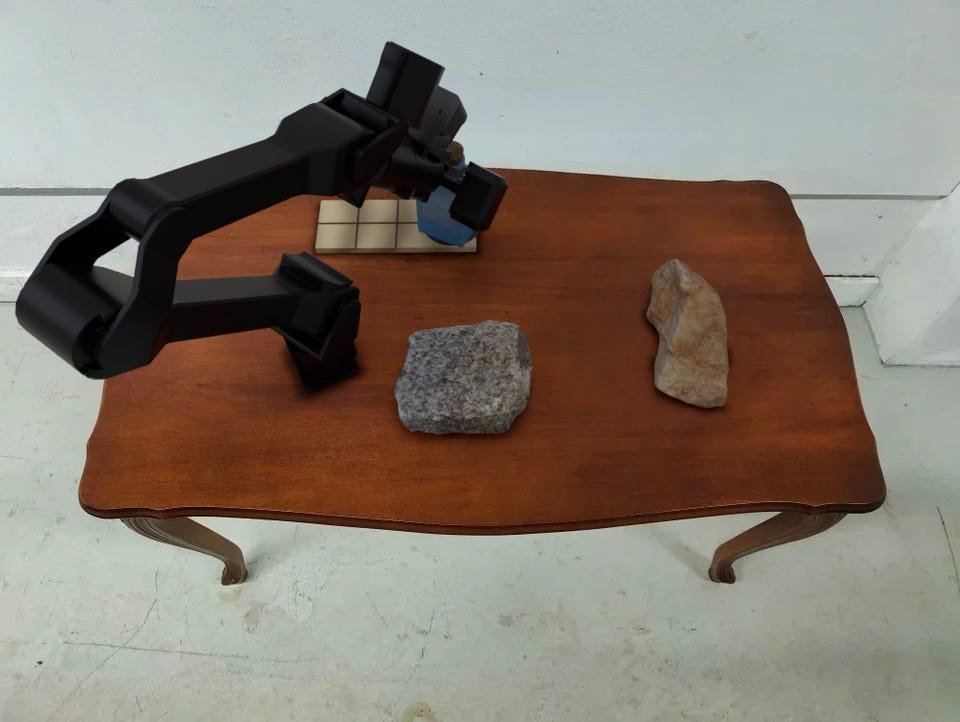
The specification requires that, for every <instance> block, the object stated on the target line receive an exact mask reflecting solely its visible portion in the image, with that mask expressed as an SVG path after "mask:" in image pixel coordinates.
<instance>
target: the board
mask: <svg viewBox="0 0 960 722" xmlns="http://www.w3.org/2000/svg"><path fill="white" fill-rule="evenodd" d="M479 233H480V232H476V231H473V233H472V234H471V236H470V237H469V239H468V240H467V242H466V243H465V245H464V246H463V248H460V247H458V246H455V245H453V244H450V243H448V242H445V241H443V240H440V239H438V238H435V237H433V236H430V235H427V234H425V233H422V232H420V231H418V220H417V208H416V199H409V200H404V199H399V198H398V199H397V198H396V199H365V201H364V204H363V206H362V207H361V208H360V209H358V208H356V207H354V206H353V205H351V204H349V203H348V202H346V201H344V200H342V199H334V200H333V199H331V200H330V199H329V200H327V199H326V200H325V199H323V200H322V199H321V201H320V208H319V216H318V222H317V232H316V238H315V239H316V240H315V247H314V249H315V252H316V254H375V253H376V254H378V253H380V254H381V253H382V254H384V253H386V254H387V253H389V254H390V253H392V254H393V253H477V236H478V235H479Z"/></svg>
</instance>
